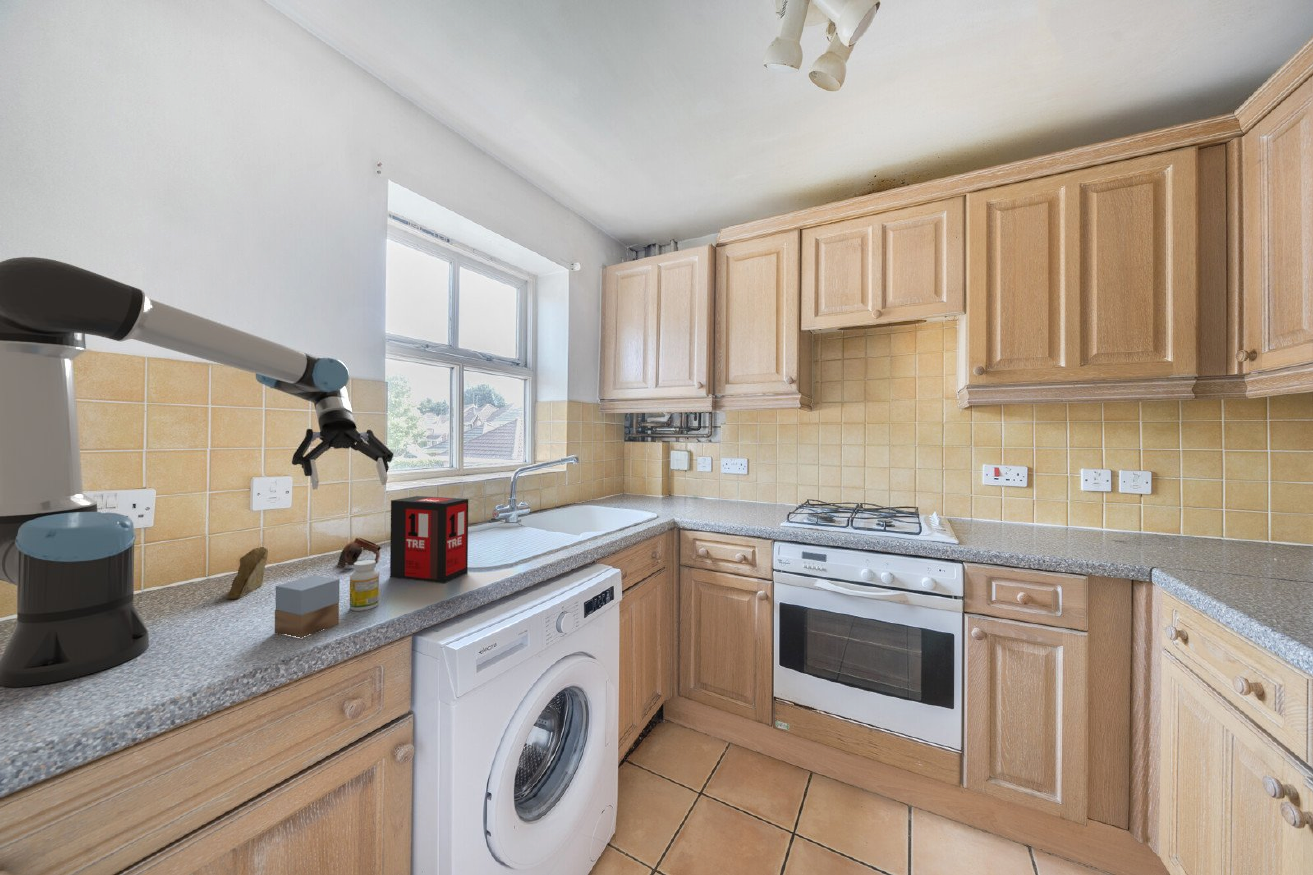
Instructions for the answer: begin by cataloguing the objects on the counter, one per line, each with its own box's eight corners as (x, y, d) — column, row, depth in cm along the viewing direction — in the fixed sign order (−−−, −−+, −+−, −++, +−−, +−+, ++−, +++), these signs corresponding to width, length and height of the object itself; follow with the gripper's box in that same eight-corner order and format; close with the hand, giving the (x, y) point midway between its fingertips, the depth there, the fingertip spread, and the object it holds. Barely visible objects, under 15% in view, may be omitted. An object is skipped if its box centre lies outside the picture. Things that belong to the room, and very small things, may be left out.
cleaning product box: (390, 577, 118) (390, 500, 118) (416, 567, 127) (416, 496, 127) (444, 583, 114) (445, 503, 114) (467, 573, 123) (468, 498, 123)
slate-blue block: (301, 615, 83) (301, 590, 83) (275, 609, 85) (275, 585, 85) (339, 602, 89) (339, 579, 89) (314, 597, 92) (314, 575, 92)
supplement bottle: (375, 609, 97) (375, 564, 97) (345, 612, 95) (346, 566, 95) (381, 600, 102) (382, 558, 102) (353, 603, 100) (354, 559, 100)
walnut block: (301, 640, 83) (301, 615, 83) (274, 634, 85) (274, 610, 85) (338, 624, 89) (338, 602, 89) (313, 619, 92) (313, 597, 92)
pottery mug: (340, 562, 133) (357, 535, 136) (372, 575, 134) (388, 549, 137) (325, 562, 122) (344, 533, 125) (360, 576, 123) (378, 548, 126)
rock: (244, 591, 100) (287, 571, 110) (219, 560, 100) (264, 543, 110) (215, 616, 102) (259, 595, 112) (190, 586, 102) (236, 567, 112)
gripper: (387, 430, 127) (406, 489, 117) (270, 428, 109) (280, 498, 98) (394, 410, 123) (414, 469, 113) (274, 405, 105) (285, 475, 95)
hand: (352, 483), depth 106 cm, fingers open, 13 cm apart
